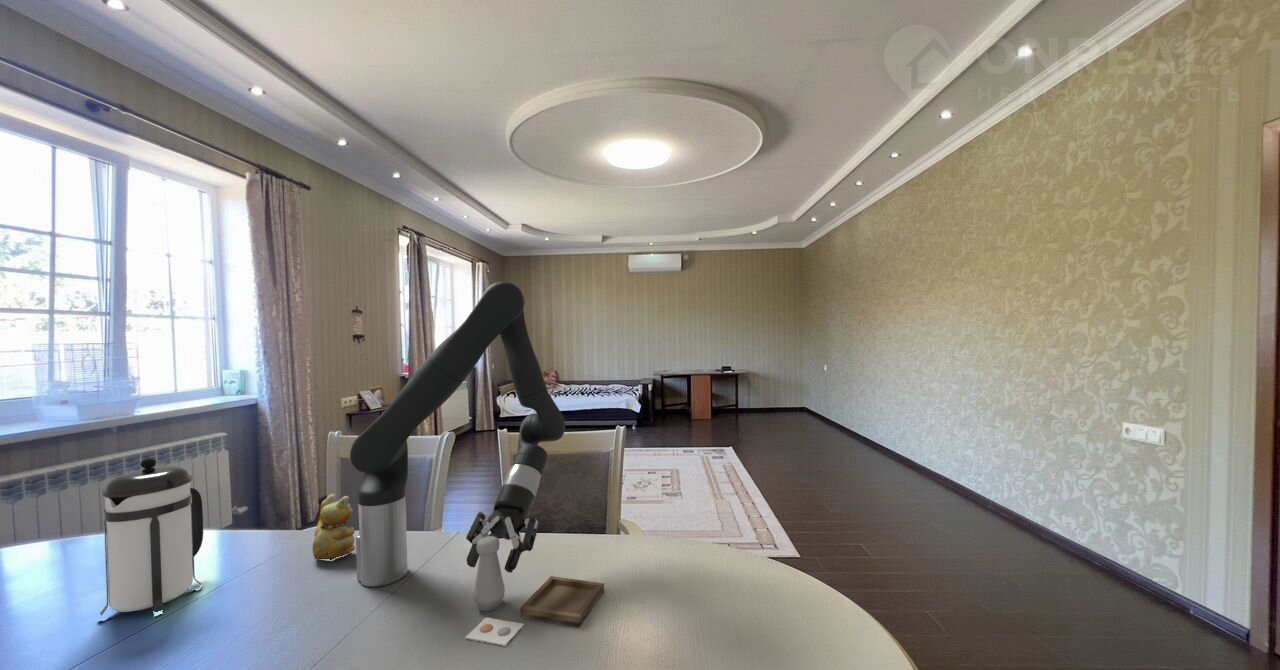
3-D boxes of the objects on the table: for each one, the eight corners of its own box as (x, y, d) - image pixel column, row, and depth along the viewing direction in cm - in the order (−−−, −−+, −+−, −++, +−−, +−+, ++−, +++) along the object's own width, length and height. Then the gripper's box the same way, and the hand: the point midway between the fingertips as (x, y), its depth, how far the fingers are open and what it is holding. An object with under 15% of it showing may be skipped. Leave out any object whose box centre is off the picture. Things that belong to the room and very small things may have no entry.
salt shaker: (495, 615, 90) (493, 546, 90) (468, 613, 91) (466, 544, 91) (510, 598, 95) (508, 533, 95) (484, 596, 97) (482, 532, 97)
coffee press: (213, 599, 99) (208, 454, 98) (96, 637, 87) (90, 472, 87) (204, 572, 110) (200, 443, 110) (100, 602, 99) (95, 457, 99)
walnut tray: (520, 617, 89) (520, 607, 89) (551, 584, 100) (550, 576, 100) (579, 627, 85) (579, 617, 85) (604, 592, 97) (604, 583, 97)
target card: (465, 638, 83) (465, 636, 83) (486, 618, 89) (486, 616, 89) (505, 646, 81) (505, 643, 81) (524, 625, 86) (524, 622, 86)
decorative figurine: (363, 552, 119) (361, 491, 119) (334, 568, 111) (332, 503, 111) (330, 549, 121) (328, 490, 121) (301, 564, 113) (298, 501, 113)
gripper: (482, 480, 104) (448, 557, 93) (541, 484, 99) (512, 565, 88) (498, 496, 109) (467, 571, 98) (554, 501, 104) (528, 579, 94)
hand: (489, 568), depth 93 cm, fingers open, 8 cm apart
